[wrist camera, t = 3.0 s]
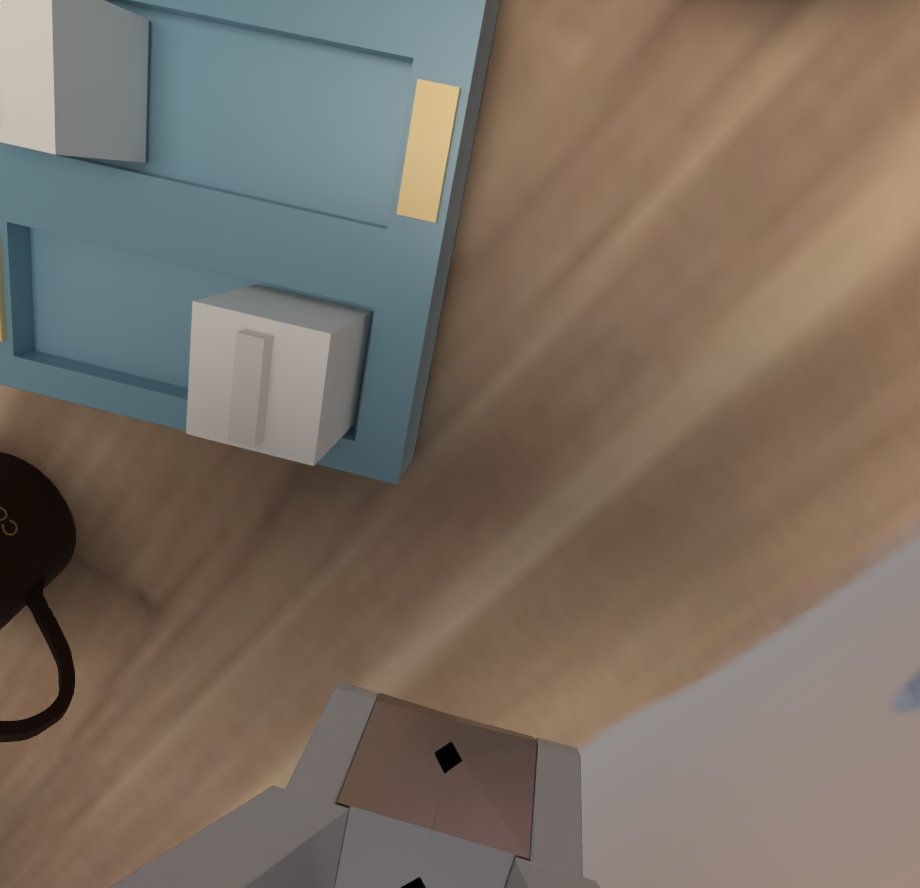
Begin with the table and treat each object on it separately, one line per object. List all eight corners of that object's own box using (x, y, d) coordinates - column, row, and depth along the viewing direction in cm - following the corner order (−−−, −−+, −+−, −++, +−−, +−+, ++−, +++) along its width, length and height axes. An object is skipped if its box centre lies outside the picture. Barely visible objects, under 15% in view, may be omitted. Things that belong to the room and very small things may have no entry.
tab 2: (354, 423, 23) (306, 473, 19) (246, 396, 23) (174, 440, 19) (371, 311, 22) (323, 338, 17) (256, 284, 22) (180, 304, 18)
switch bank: (413, 458, 25) (395, 487, 23) (24, 361, 26) (-33, 378, 24) (549, -260, 17) (546, -337, 15) (-8, -353, 19) (-98, -439, 16)
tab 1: (145, 162, 21) (38, 153, 17) (30, 136, 21) (-104, 120, 17) (148, 19, 20) (32, -31, 15) (25, -6, 20) (-123, -62, 16)
